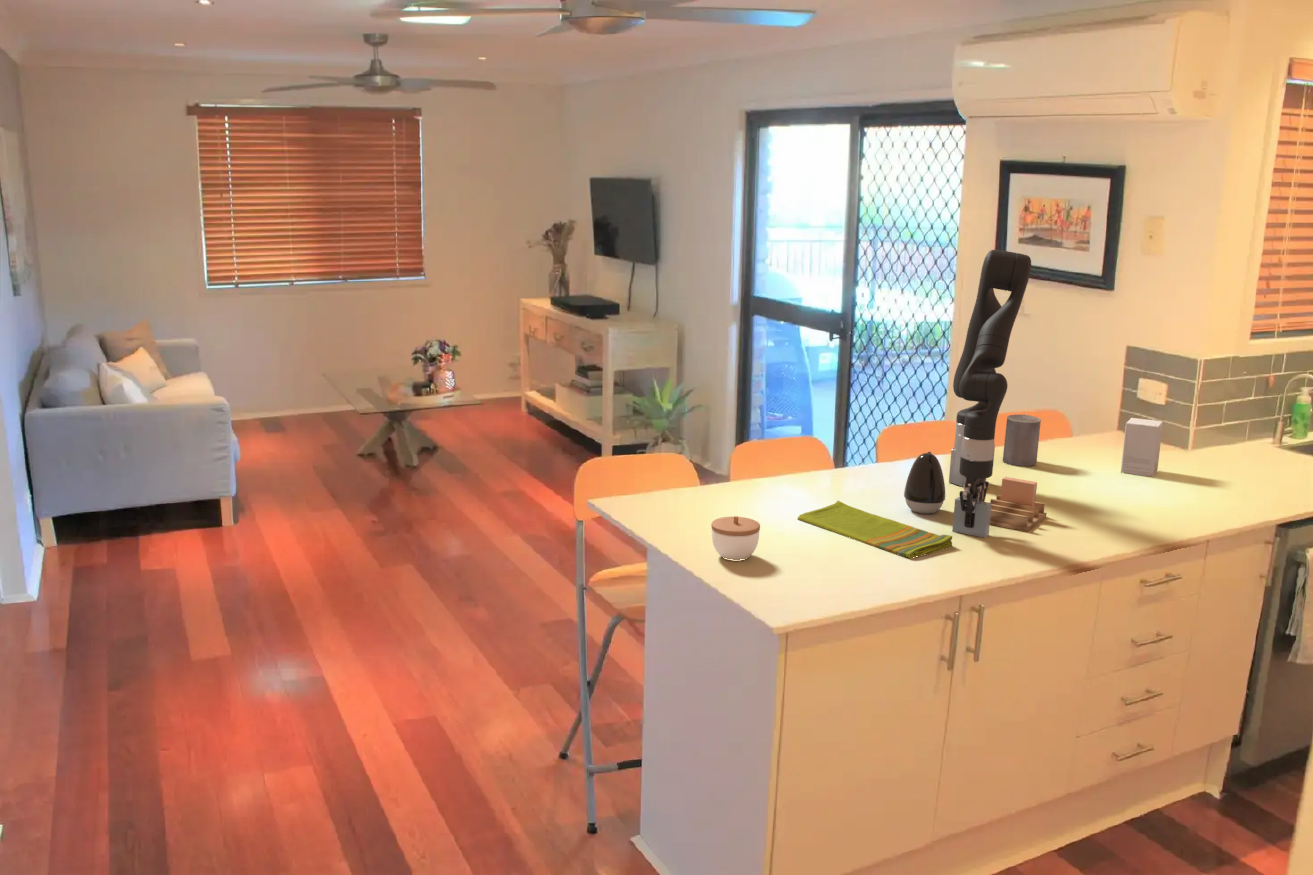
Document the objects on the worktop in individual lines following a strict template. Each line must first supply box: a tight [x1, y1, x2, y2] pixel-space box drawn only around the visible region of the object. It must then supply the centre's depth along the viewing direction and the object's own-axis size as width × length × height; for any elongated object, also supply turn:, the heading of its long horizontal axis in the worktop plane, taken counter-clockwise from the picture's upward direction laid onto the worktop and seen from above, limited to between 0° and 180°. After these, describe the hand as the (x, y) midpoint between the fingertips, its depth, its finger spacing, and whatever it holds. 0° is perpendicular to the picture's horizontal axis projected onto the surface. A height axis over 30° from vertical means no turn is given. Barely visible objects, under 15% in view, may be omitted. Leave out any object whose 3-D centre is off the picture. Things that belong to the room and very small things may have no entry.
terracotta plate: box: [1000, 476, 1038, 507], centre depth 275 cm, size 8×2×8 cm, turn 54°
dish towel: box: [797, 500, 953, 559], centre depth 261 cm, size 15×36×3 cm, turn 38°
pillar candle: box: [1002, 413, 1042, 467], centre depth 325 cm, size 10×10×15 cm
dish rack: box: [989, 494, 1047, 533], centre depth 272 cm, size 13×15×4 cm
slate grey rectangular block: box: [952, 496, 992, 539], centre depth 260 cm, size 8×2×8 cm, turn 54°
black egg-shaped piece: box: [903, 451, 946, 515], centre depth 276 cm, size 10×10×15 cm
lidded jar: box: [710, 515, 761, 560], centre depth 242 cm, size 11×11×9 cm
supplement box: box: [1120, 417, 1164, 477], centre depth 317 cm, size 9×9×15 cm
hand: (971, 525), depth 261 cm, fingers closed on slate grey rectangular block, 2 cm apart
